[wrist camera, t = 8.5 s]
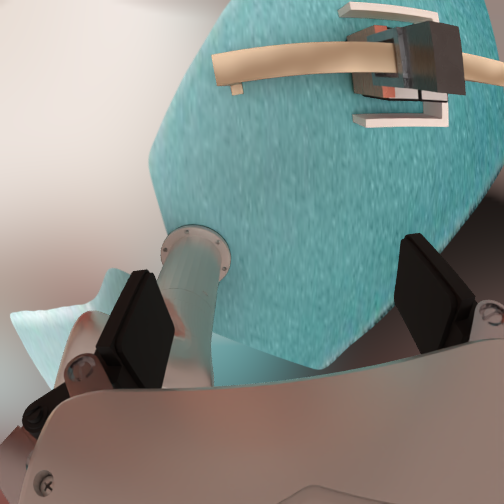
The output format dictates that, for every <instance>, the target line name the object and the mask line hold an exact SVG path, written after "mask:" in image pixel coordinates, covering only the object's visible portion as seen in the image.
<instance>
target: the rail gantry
mask: <svg viewBox="0 0 504 504" xmlns="http://www.w3.org/2000/svg"><path fill="white" fill-rule="evenodd" d="M211 56H212V61H213V67H214V72H215V77H216V83H217V86H231V91H232V95H238V94H243V88H242V82H246V81H253V80H260V79H268V78H276V77H285V76H295V75H307V74H322V73H348V72H381V73H398V67H397V59H396V51H395V44H394V43H380V42H310V43H295V44H283V45H273V46H265V47H257V48H250V49H243V50H237V51H231V52H225V53H219V54H214V55H211ZM462 56H463V65H464V77H465V81H472V82H479V83H486V84H492V85H497V86H503V87H504V63H503V62H500V61H496V60H492V59H488V58H484V57H480V56H476V55H471V54H466V53H462Z"/></svg>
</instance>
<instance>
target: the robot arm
mask: <svg viewBox="0 0 504 504" xmlns="http://www.w3.org/2000/svg"><path fill="white" fill-rule="evenodd" d="M187 230H189V231H187ZM218 240H219V241H218ZM161 261H162V264H163V267H162V270H161V272H160V275H159V277H158V279H157V281H156V278H155V276H154V274H153V273H150V272H149V271H148V270H139V271H133V272H132V273H131V275H130V277H129V279H128V281H127V283H126V285H125V287H124V289H123V291H122V292H121V294H120V296H119V298H118V300H117V302H116V304H115V306H114V308H113V310H112V312H111V314H110V315H108V314H105V313H102V312H99V311H87V312H85V313H83V314H82V315H81V316H80V317H79V318H78V319H77V321H76V322H75V324H74V326H73V328H72V330H71V332H70V335H69V337H68V340H67V343H66V346H65V349H64V352H63V356H62V359H61V363H60V367H59V370H58V374H57V378H56V382H55V386H54V389H53V390H51V391H50V392H48V393H47V394H45V395H44V396H42V397H41V398H39V399H38V400H36V401H34V402H33V403H32V404H30V405H29V406H28V407H27V409H26V410H25V412H24V414H23V418H22V423H23V426H22V427H20V426H17V427H16V428H15V429H14V430H13V431H12V432H11V434H10V435H9V436H8V437H7V438H6V439H5V440H4V441H3V442H2V444H0V489H1V490H2V492H3V494H4V495H5V497H6V498H7V500H8V501H9V503H10V504H504V306H503V305H502V304H501V303H499V302H496V301H492V300H484V301H481V302H479V303H477V302H476V301H475V295H474V294H473V293H472V291H471V290H470V289H469V288H468V287H467V285H466V284H465V283H464V282H463V280H462V279H461V278H460V277H459V276H458V274H457V273H456V272H455V271H454V270H453V269H452V268H451V266H450V265H449V264H448V263H447V262H446V261H445V260H444V258H443V257H442V256H441V255H440V254H439V253H438V252H437V250H436V249H435V248H434V247H433V246H432V245H431V244H430V243H429V242H428V241H427V240H426V239H425V237H424V236H423V235H422V234H420V233H415V234H408V235H406V236H405V238H404V239H402V240H401V244H400V253H399V262H398V270H397V278H396V285H395V292H394V302H395V305H396V307H397V308H398V310H399V312H400V314H401V316H402V318H403V320H404V321H405V323H406V325H407V327H408V329H409V331H410V333H411V335H412V337H413V339H414V341H415V343H416V345H417V347H418V349H419V351H420V353H421V355H417V356H413V357H409V358H405V359H400V360H396V361H392V362H387V363H383V364H379V365H374V366H369V367H364V368H359V369H354V370H349V371H343V372H337V373H332V374H325V375H319V376H312V377H306V378H298V379H291V380H283V381H274V382H265V383H255V384H245V385H231V386H217V387H214V375H213V367H212V358H211V337H212V328H213V320H214V312H215V305H216V298H217V290H218V283H219V281H221V280H222V279H223V278H224V277H225V276H226V274H227V272H228V270H229V267H230V263H231V254H230V250H229V247H228V245H227V243H226V242H225V240H224V239H223V238H222V237H221V236H220V235H219V234H218V233H216V232H215V231H213V230H211V229H209V228H207V227H203V226H199V225H188V226H183V227H180V228H177V229H176V230H174V231H172V232H171V233H170V234H169V235H168V236H167V238H166V239H165V241H164V243H163V245H162V248H161Z"/></svg>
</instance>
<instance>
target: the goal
mask: <svg viewBox="0 0 504 504" xmlns="http://www.w3.org/2000/svg"><path fill="white" fill-rule="evenodd" d="M338 14H339V17H344V18H369V19H383V20H394V21H403V22H410V23H414V24H417V23H421V22H425V21H434V22H439V18H438V13H436V12H431V11H426V10H421V9H415V8H408V7H401V6H394V5H385V4H375V3H361V2H349V3H347V4H346V5H345V6H343V7H342V8H341V9H339V10H338ZM352 116H353V122H354V123H357V124H359V125H361V126H364V127H366V128H370V127H402V126H433V127H448V102H447V103H439V102H423V113H378V114H352Z"/></svg>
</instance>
